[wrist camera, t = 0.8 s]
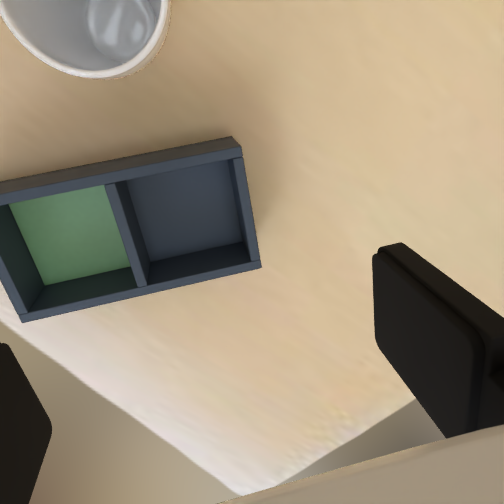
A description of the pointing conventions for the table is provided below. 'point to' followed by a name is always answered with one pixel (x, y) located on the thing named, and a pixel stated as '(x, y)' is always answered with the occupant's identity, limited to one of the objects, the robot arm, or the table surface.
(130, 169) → the glass rack
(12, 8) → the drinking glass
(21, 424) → the robot arm
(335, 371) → the table surface
